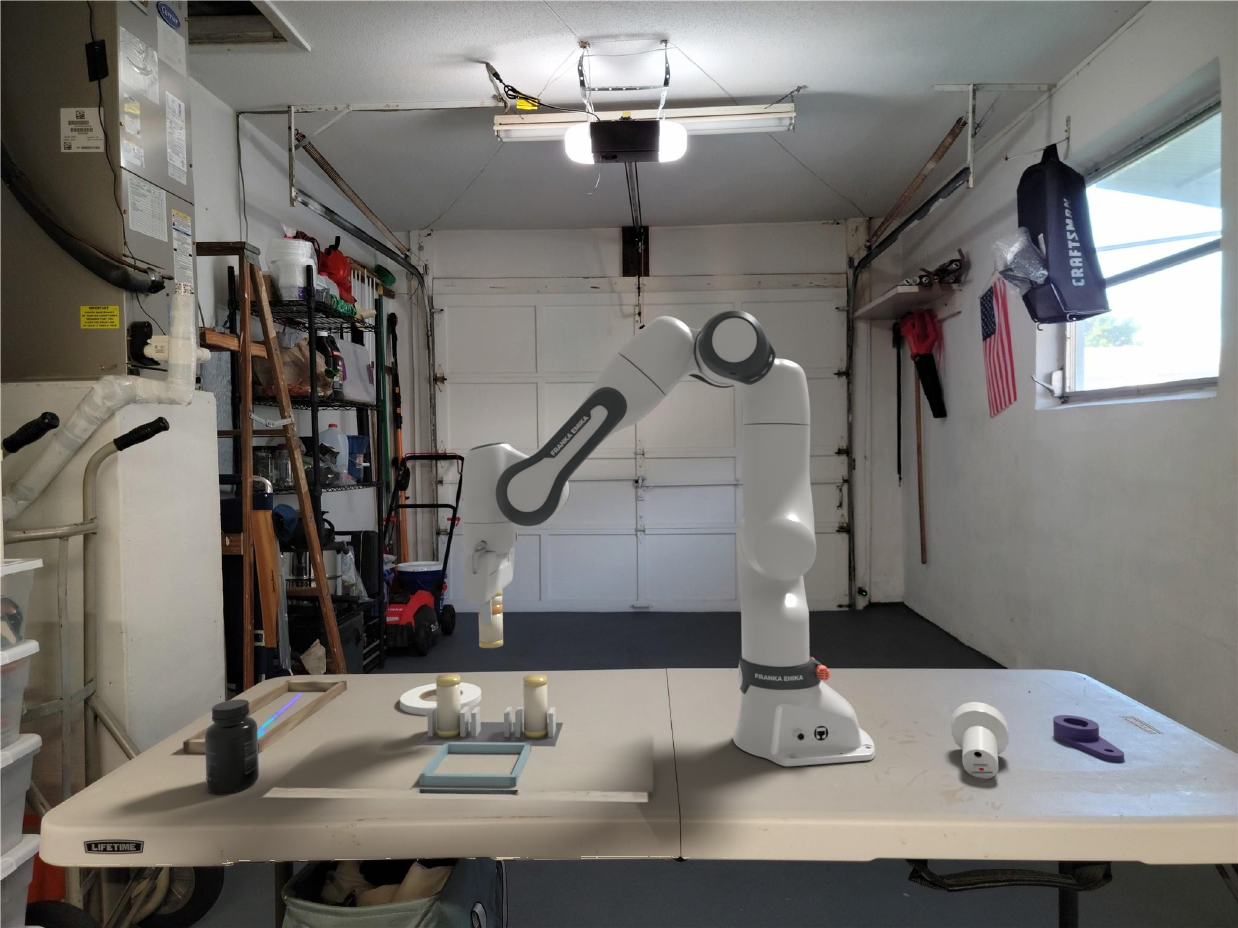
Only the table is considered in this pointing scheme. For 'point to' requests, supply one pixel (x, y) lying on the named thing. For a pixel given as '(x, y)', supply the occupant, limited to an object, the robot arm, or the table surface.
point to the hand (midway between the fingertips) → (491, 619)
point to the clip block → (491, 729)
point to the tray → (474, 779)
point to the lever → (1085, 737)
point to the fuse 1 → (448, 705)
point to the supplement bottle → (231, 748)
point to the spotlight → (980, 737)
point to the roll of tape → (417, 705)
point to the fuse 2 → (535, 706)
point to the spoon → (276, 716)
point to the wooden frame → (333, 690)
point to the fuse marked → (492, 625)
